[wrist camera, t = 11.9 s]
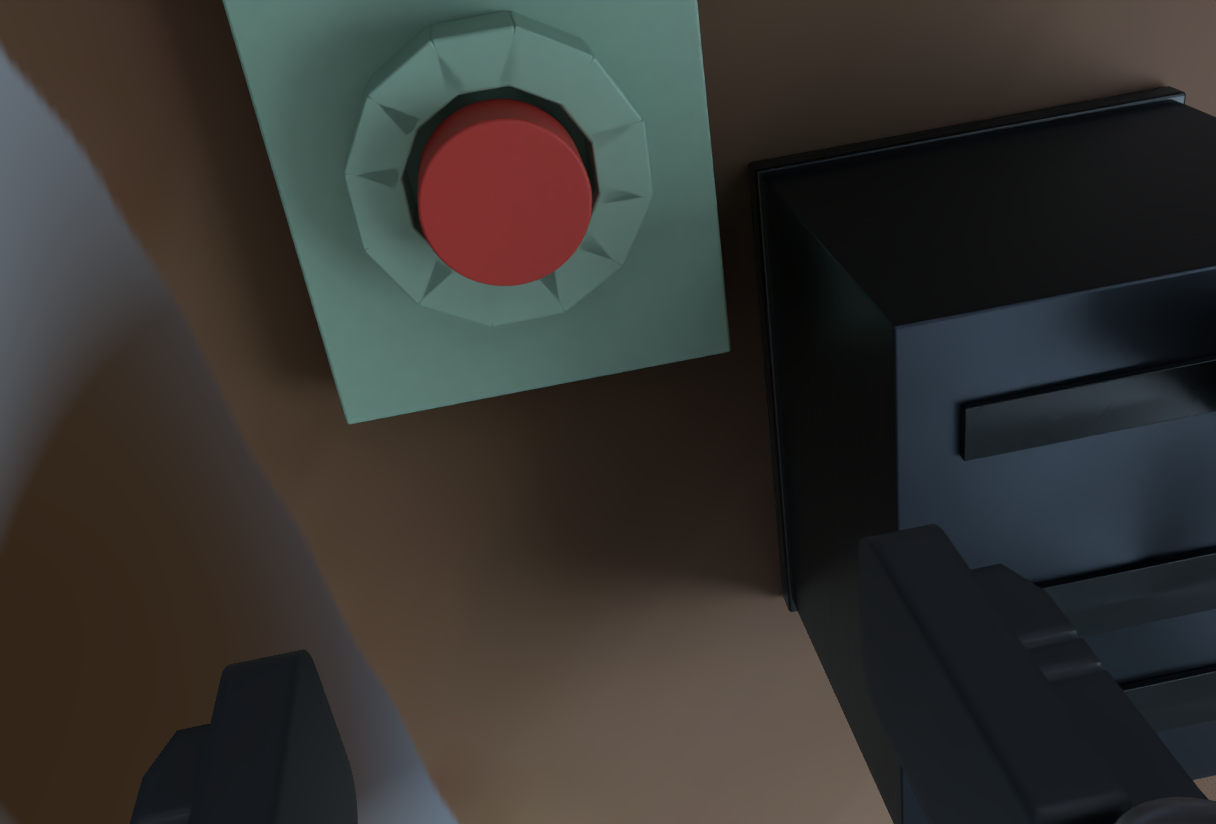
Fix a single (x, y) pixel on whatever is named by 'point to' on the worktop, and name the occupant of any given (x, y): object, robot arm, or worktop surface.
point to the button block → (388, 184)
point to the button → (503, 193)
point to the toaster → (1005, 384)
